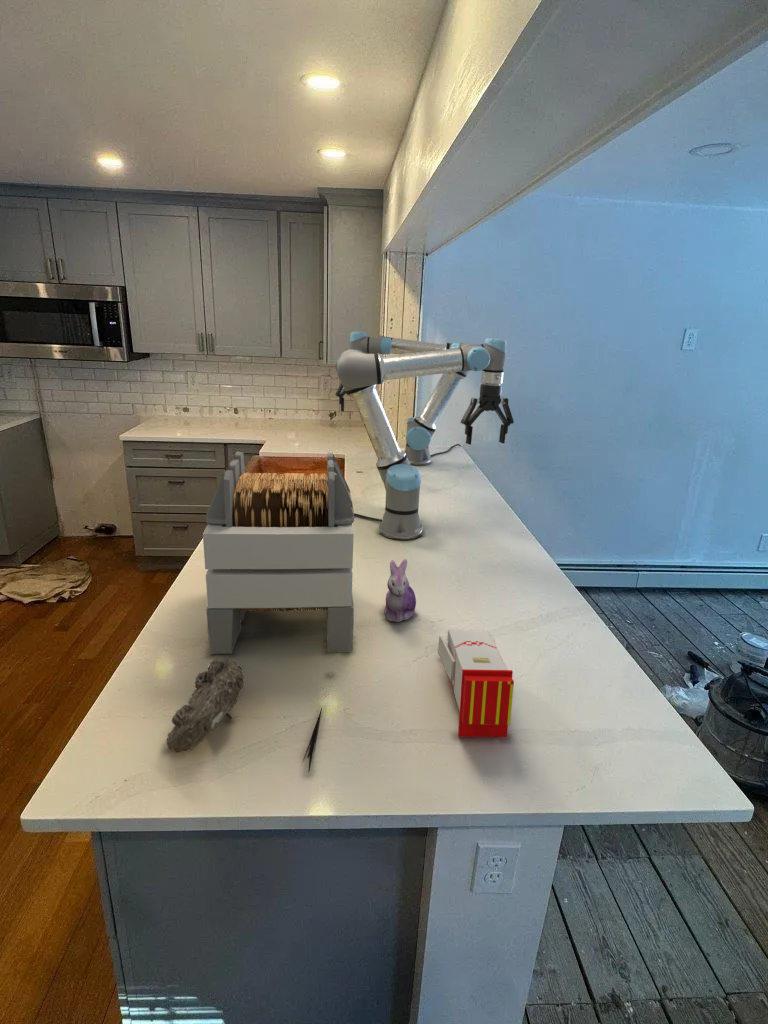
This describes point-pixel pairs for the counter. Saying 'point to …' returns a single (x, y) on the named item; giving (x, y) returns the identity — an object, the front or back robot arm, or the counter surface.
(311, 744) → the feather
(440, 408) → the back robot arm
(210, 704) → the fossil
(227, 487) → the record crate
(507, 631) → the counter surface
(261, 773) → the counter surface
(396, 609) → the figurine
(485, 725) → the toy
